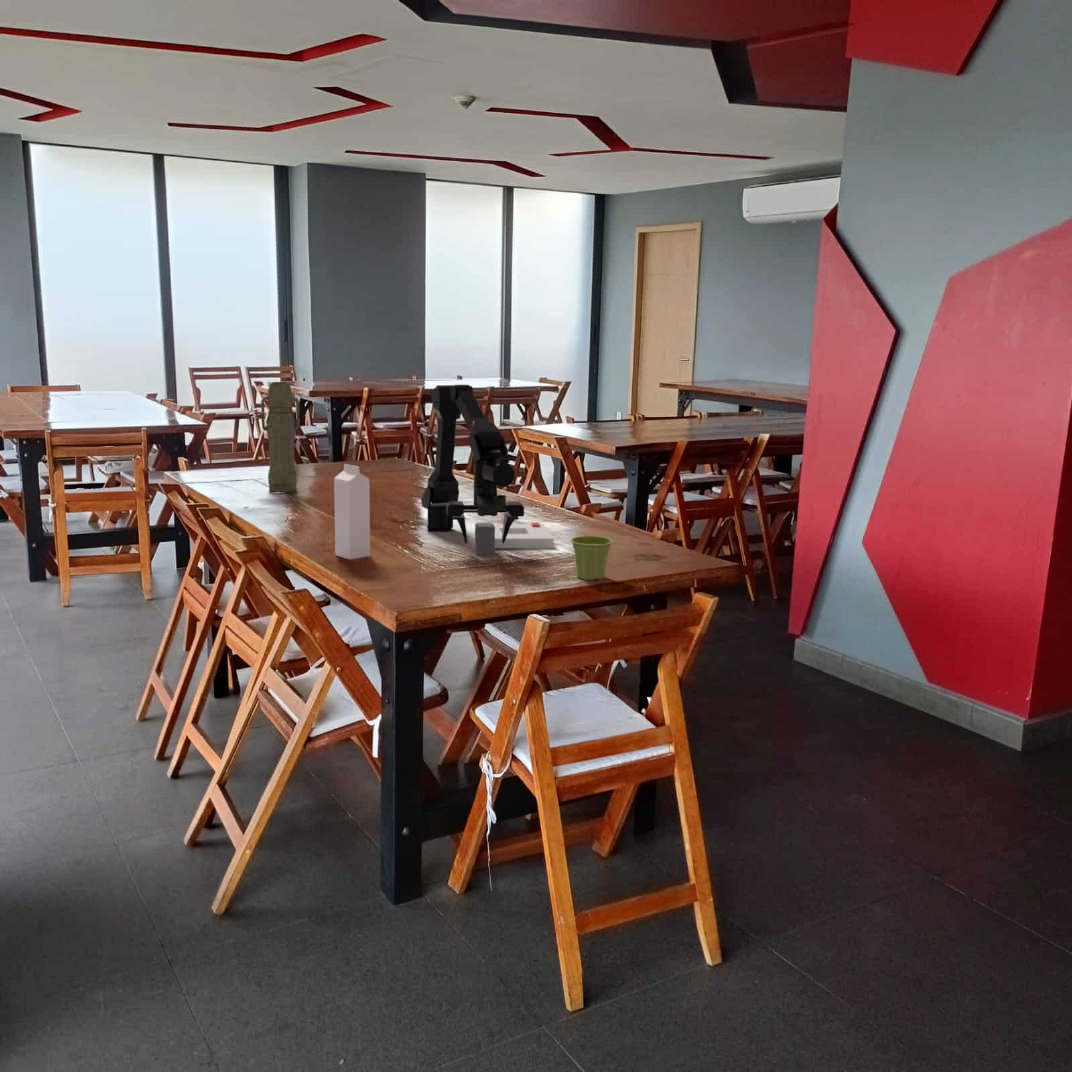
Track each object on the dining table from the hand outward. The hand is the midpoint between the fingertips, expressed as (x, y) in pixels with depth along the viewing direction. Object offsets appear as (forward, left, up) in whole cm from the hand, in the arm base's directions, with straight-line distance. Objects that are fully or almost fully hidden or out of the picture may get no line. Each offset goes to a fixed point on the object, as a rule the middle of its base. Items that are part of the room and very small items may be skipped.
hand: (484, 543), depth 244 cm
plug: (0, 0, -2) cm, 3 cm away
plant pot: (+22, -24, -3) cm, 33 cm away
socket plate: (+9, +14, -2) cm, 17 cm away
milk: (-32, -2, -3) cm, 32 cm away
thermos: (-58, +88, -3) cm, 105 cm away
